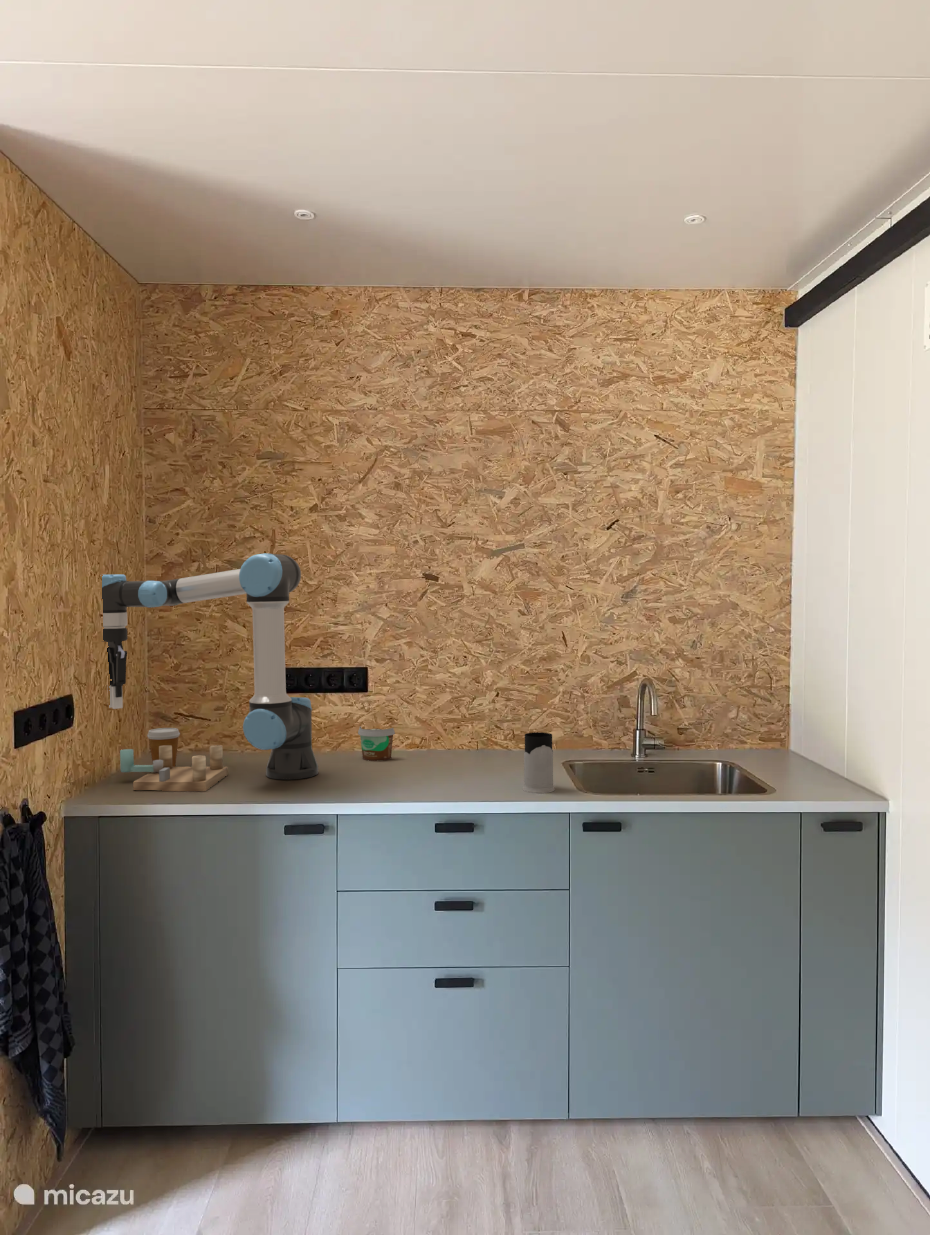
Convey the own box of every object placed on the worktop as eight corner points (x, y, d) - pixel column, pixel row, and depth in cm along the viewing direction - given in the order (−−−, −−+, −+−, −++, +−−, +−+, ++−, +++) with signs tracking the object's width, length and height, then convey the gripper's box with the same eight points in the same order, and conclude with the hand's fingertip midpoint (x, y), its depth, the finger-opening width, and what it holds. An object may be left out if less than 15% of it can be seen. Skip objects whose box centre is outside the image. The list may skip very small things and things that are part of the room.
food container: (351, 760, 289) (351, 729, 288) (359, 756, 294) (359, 726, 294) (388, 762, 285) (387, 730, 285) (395, 758, 291) (395, 727, 290)
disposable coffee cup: (185, 766, 282) (185, 727, 281) (172, 772, 272) (172, 733, 272) (156, 765, 283) (155, 727, 282) (142, 772, 273) (141, 732, 273)
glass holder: (529, 794, 243) (528, 738, 242) (511, 782, 256) (511, 729, 256) (559, 791, 245) (559, 736, 244) (540, 780, 259) (540, 728, 258)
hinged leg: (165, 769, 262) (164, 749, 262) (160, 772, 259) (160, 751, 259) (123, 769, 263) (123, 749, 263) (118, 772, 259) (117, 751, 259)
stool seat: (227, 775, 269) (227, 744, 268) (205, 791, 249) (204, 758, 248) (160, 774, 269) (160, 744, 269) (133, 790, 249) (132, 758, 249)
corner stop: (170, 778, 253) (169, 767, 253) (164, 781, 249) (164, 770, 249) (164, 778, 254) (164, 767, 253) (159, 781, 250) (159, 770, 249)
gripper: (90, 627, 268) (92, 706, 269) (111, 629, 256) (113, 712, 258) (115, 625, 273) (117, 703, 274) (137, 627, 262) (139, 709, 263)
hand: (115, 707), depth 266 cm, fingers open, 3 cm apart
